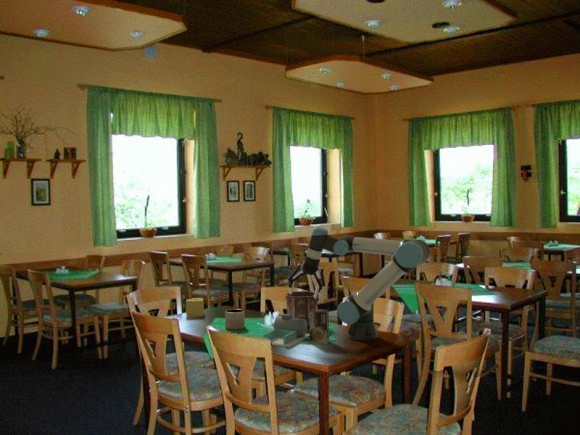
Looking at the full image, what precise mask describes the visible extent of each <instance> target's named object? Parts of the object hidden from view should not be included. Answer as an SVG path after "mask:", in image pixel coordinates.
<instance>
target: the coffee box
mask: <svg viewBox="0 0 580 435" xmlns="http://www.w3.org/2000/svg"><path fill="white" fill-rule="evenodd" d="M309 322H310V327H309V334H310V337H309V344H314V345H319V344H320V345H328V344H329V343H330V314H329V309H322V308H321V309H318V308H317V309H311V311H310V312H309Z"/></svg>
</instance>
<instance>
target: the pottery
mask: <svg viewBox="0 0 580 435" xmlns="http://www.w3.org/2000/svg"><path fill="white" fill-rule="evenodd" d="M314 293H315V291H306V290H305V291H304V290H301V291H300V290H299V291H297V290H296V291H292V295H290V294H289V292H287V293H286V294H285V302H286V314H292V318H298V319H305V320H306V321H307V329H308V327H309V328H310V322H309V312H310V311H311V309H318V296H319V295H318V294H319V293H318V294H317V298H316V299H315V298H314Z"/></svg>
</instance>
